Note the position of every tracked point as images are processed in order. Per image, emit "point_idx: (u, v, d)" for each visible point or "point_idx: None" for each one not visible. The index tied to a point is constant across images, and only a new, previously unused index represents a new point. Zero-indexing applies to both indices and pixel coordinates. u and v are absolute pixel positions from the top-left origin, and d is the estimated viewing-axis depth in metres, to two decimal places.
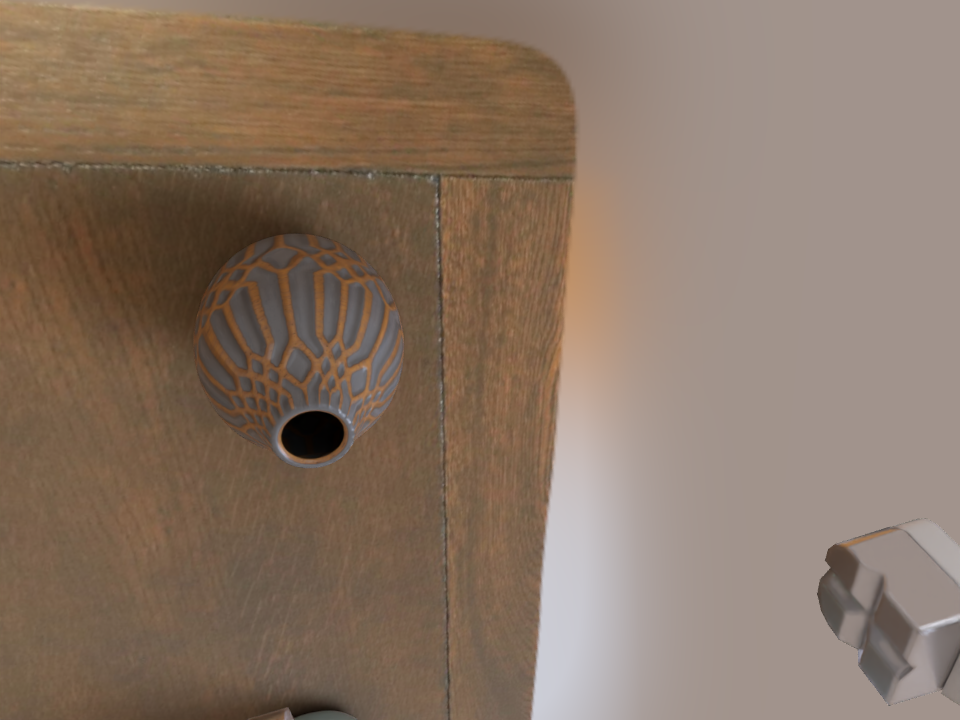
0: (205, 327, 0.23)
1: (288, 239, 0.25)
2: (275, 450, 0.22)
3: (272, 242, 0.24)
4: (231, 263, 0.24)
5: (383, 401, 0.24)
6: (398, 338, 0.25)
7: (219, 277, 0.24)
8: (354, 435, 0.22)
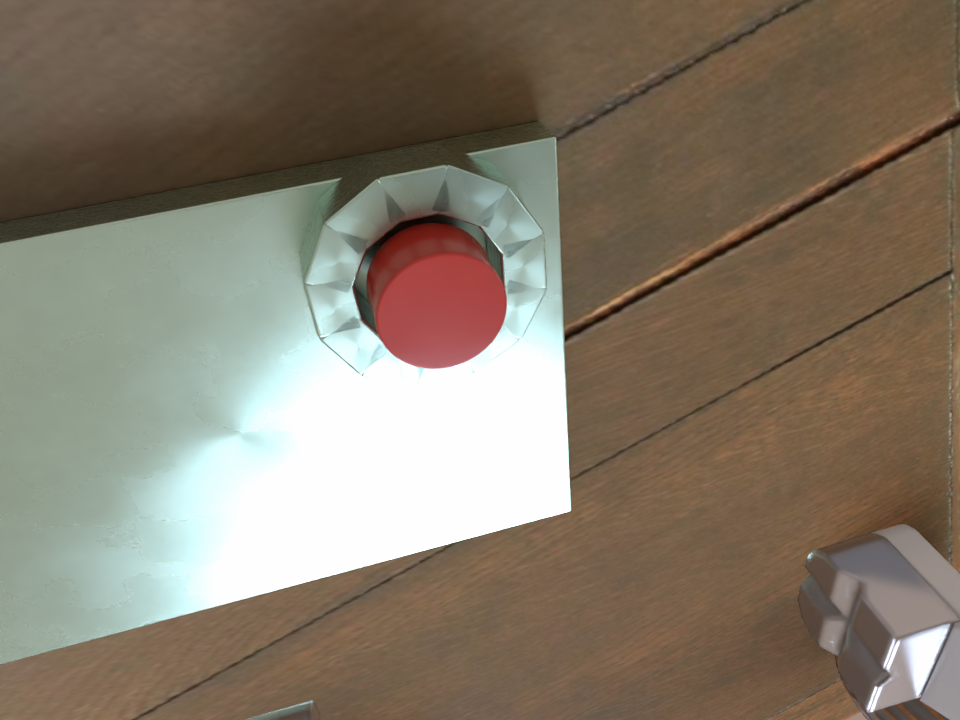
0: None
1: None
2: None
3: None
4: None
5: None
6: None
7: None
8: None
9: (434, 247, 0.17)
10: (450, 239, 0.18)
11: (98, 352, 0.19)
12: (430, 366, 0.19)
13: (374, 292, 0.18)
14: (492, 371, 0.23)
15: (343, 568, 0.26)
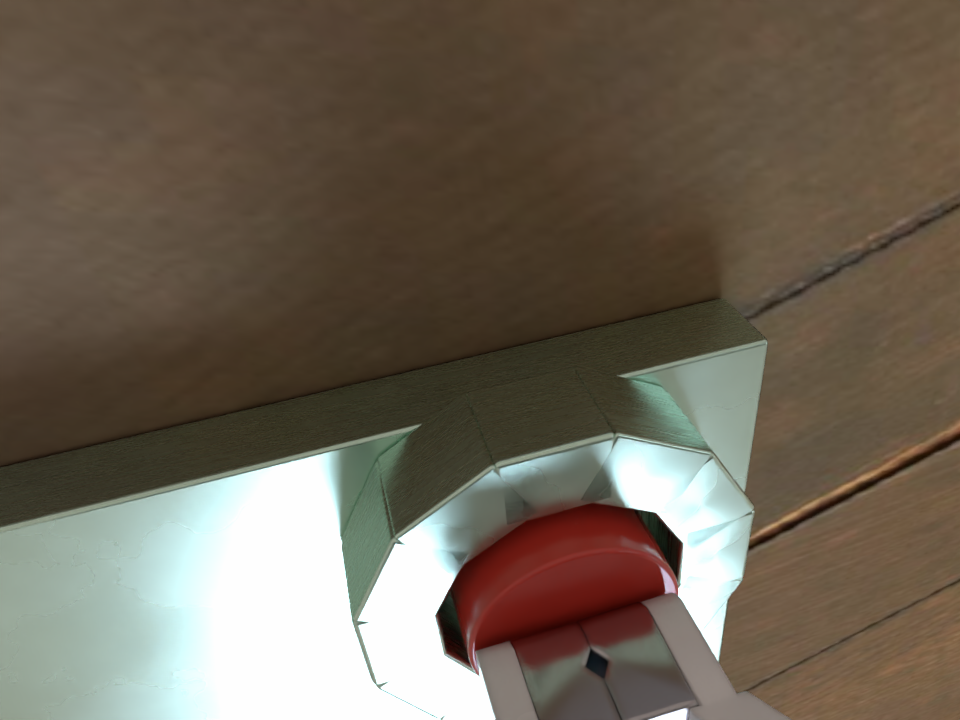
0: None
1: None
2: None
3: None
4: None
5: None
6: None
7: None
8: None
9: (571, 538, 0.10)
10: (593, 511, 0.11)
11: (5, 697, 0.12)
12: None
13: (465, 598, 0.11)
14: None
15: None
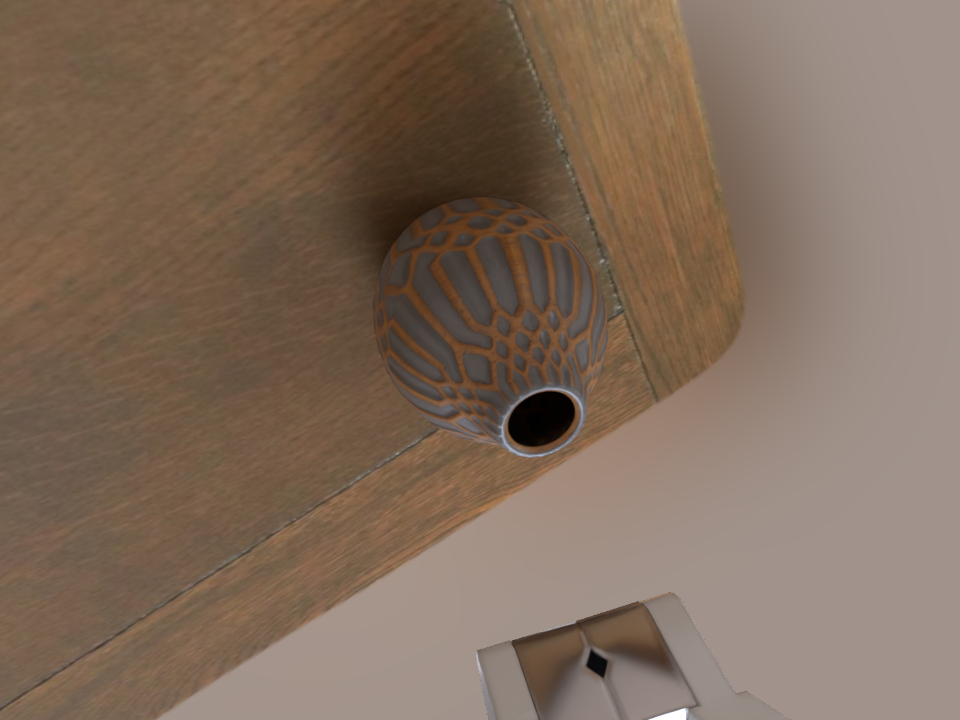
0: (506, 236, 0.20)
1: None
2: (515, 401, 0.18)
3: None
4: (534, 211, 0.22)
5: (532, 436, 0.22)
6: (569, 399, 0.23)
7: (524, 211, 0.22)
8: (555, 451, 0.20)
9: None
10: None
11: None
12: None
13: None
14: None
15: None
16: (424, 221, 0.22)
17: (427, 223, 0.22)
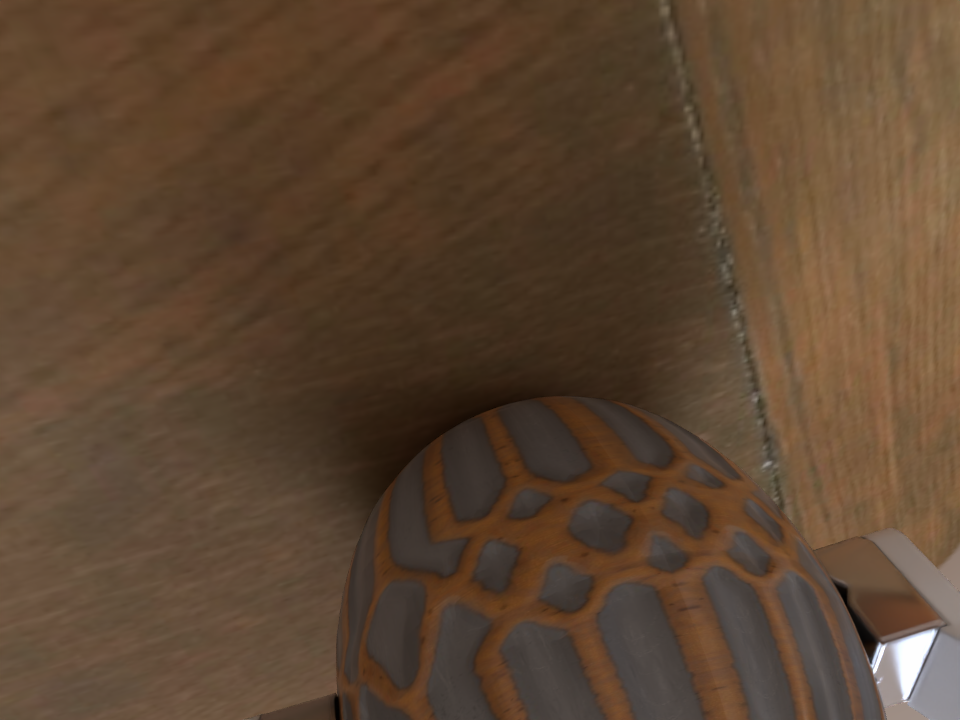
0: (675, 582, 0.08)
1: None
2: None
3: None
4: (705, 456, 0.10)
5: None
6: None
7: (690, 467, 0.09)
8: None
9: None
10: None
11: None
12: None
13: None
14: None
15: None
16: (455, 483, 0.09)
17: (463, 496, 0.09)
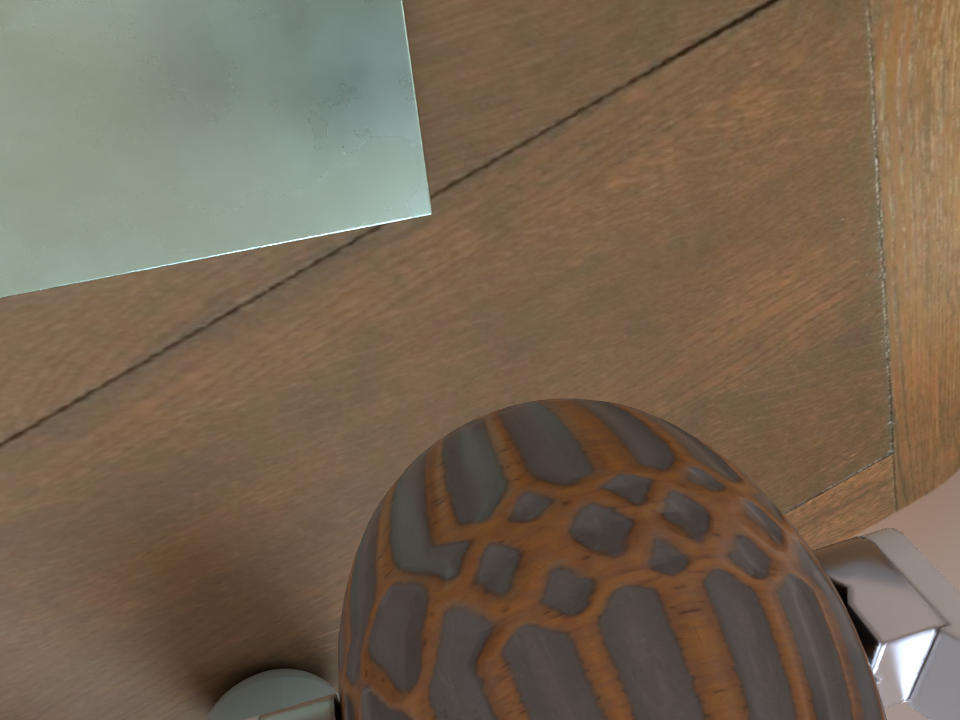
0: (677, 584, 0.08)
1: None
2: None
3: None
4: (706, 459, 0.10)
5: None
6: None
7: (691, 470, 0.09)
8: None
9: None
10: None
11: None
12: None
13: None
14: None
15: (163, 260, 0.23)
16: (456, 486, 0.09)
17: (464, 498, 0.09)
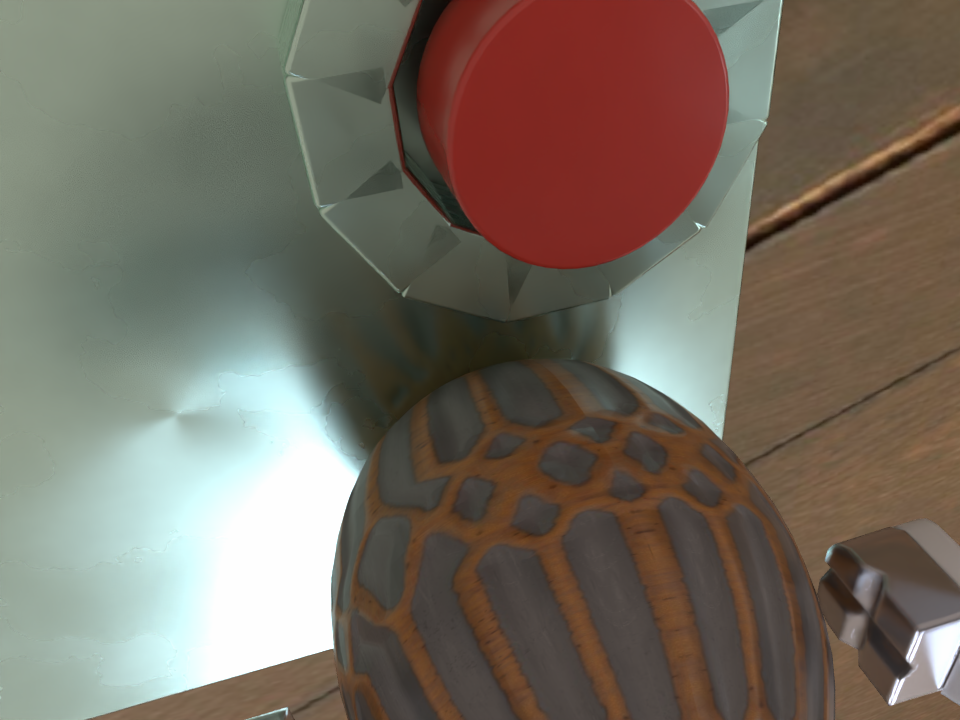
0: (633, 510, 0.09)
1: None
2: None
3: None
4: (668, 407, 0.11)
5: None
6: None
7: (652, 415, 0.10)
8: None
9: None
10: None
11: None
12: (554, 264, 0.09)
13: (443, 83, 0.08)
14: (621, 306, 0.13)
15: None
16: (438, 431, 0.10)
17: (445, 441, 0.10)
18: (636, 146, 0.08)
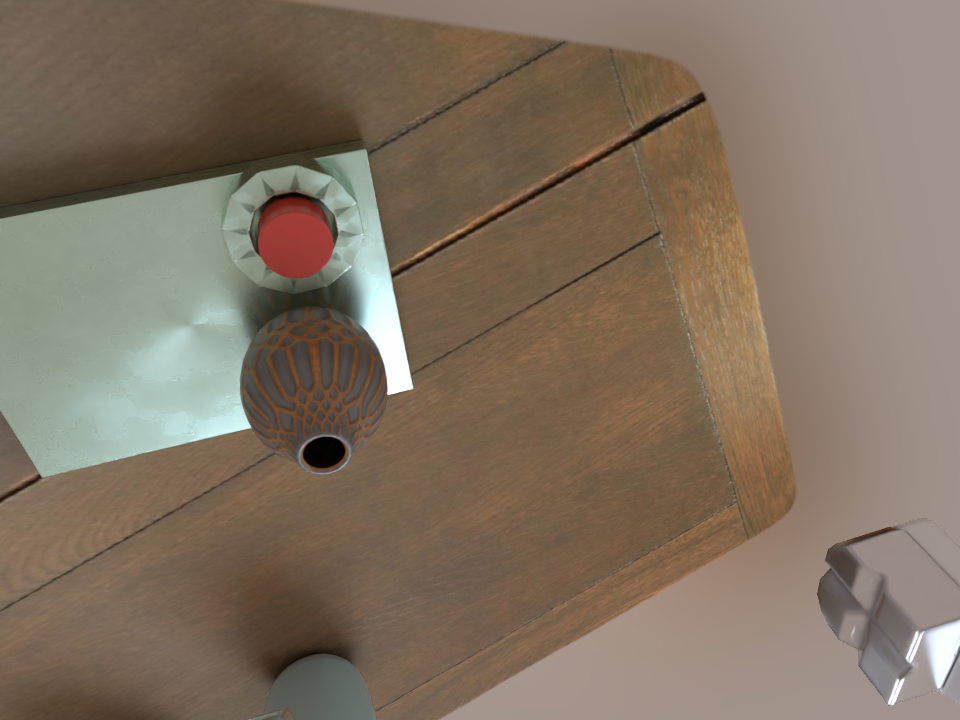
0: (312, 340, 0.33)
1: (371, 337, 0.37)
2: (303, 442, 0.32)
3: (364, 330, 0.36)
4: (340, 319, 0.35)
5: (336, 460, 0.35)
6: None
7: (331, 320, 0.35)
8: (336, 470, 0.33)
9: (288, 209, 0.32)
10: (299, 205, 0.33)
11: (108, 271, 0.34)
12: (292, 277, 0.34)
13: (258, 234, 0.33)
14: (346, 290, 0.38)
15: None
16: (270, 325, 0.35)
17: (270, 327, 0.35)
18: (308, 248, 0.33)
